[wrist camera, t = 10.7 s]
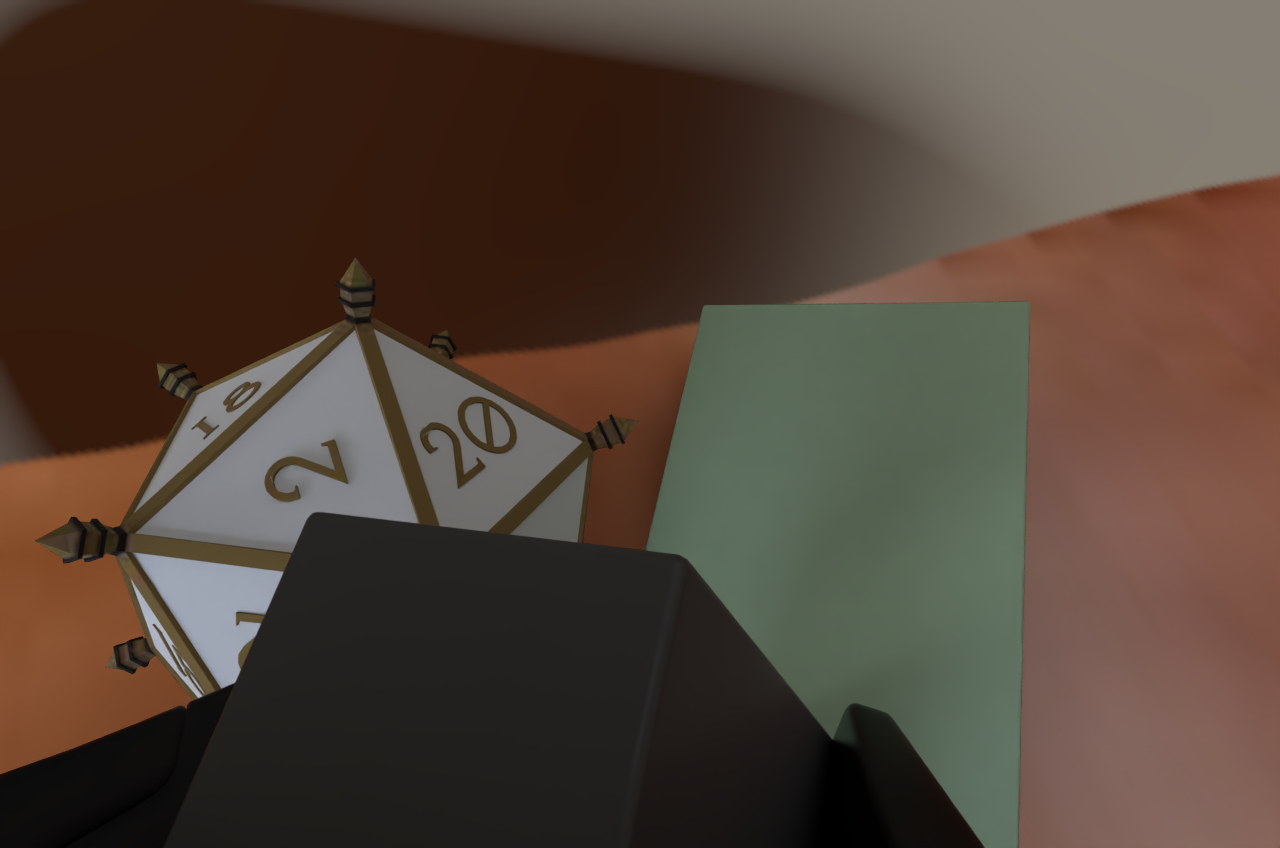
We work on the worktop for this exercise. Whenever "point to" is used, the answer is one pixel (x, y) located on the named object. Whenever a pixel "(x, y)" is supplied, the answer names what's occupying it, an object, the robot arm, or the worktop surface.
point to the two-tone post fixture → (669, 619)
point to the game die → (322, 478)
